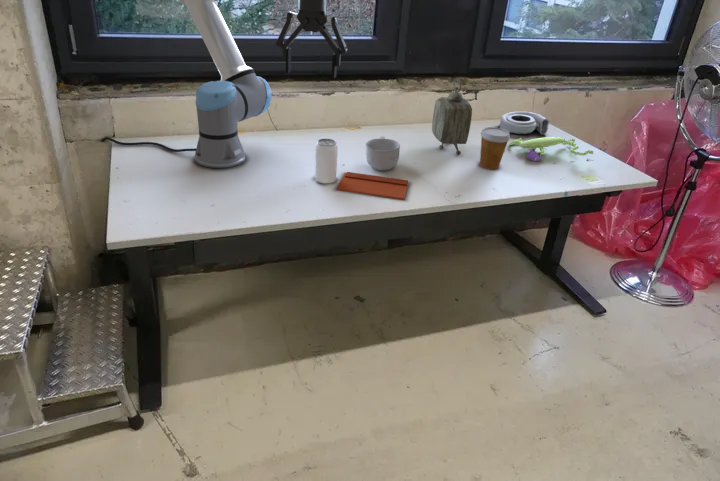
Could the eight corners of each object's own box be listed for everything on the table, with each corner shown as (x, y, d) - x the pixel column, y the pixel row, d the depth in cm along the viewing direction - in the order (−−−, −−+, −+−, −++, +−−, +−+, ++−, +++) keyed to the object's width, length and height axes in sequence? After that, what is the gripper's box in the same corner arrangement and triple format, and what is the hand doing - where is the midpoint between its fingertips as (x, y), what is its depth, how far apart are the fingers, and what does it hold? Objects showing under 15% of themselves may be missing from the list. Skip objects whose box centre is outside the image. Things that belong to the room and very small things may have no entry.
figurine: (593, 167, 187) (598, 152, 184) (516, 161, 187) (520, 146, 184) (577, 147, 202) (581, 133, 200) (506, 142, 202) (509, 127, 200)
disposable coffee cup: (506, 164, 184) (513, 130, 178) (500, 173, 176) (507, 138, 170) (478, 158, 187) (485, 124, 181) (471, 167, 179) (478, 132, 173)
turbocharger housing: (492, 126, 221) (509, 139, 209) (494, 110, 218) (511, 123, 205) (530, 123, 224) (548, 135, 212) (532, 107, 221) (551, 119, 209)
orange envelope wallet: (336, 190, 157) (336, 187, 157) (344, 174, 168) (344, 171, 167) (403, 199, 155) (404, 196, 154) (408, 182, 165) (408, 180, 165)
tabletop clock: (464, 157, 186) (477, 85, 174) (439, 157, 185) (450, 84, 172) (452, 142, 199) (463, 73, 186) (428, 141, 197) (438, 72, 184)
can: (320, 185, 159) (321, 147, 153) (311, 176, 164) (312, 139, 158) (339, 182, 162) (341, 144, 156) (330, 173, 167) (332, 137, 161)
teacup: (394, 175, 169) (397, 151, 165) (361, 170, 170) (363, 147, 166) (400, 159, 181) (403, 136, 177) (369, 155, 182) (371, 132, 178)
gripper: (263, -8, 143) (265, 72, 154) (355, 1, 140) (350, 82, 151) (272, -11, 150) (273, 67, 161) (360, -3, 147) (355, 76, 158)
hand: (311, 74), depth 156 cm, fingers open, 13 cm apart
